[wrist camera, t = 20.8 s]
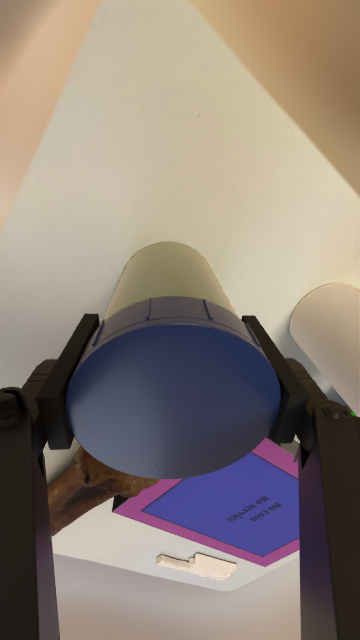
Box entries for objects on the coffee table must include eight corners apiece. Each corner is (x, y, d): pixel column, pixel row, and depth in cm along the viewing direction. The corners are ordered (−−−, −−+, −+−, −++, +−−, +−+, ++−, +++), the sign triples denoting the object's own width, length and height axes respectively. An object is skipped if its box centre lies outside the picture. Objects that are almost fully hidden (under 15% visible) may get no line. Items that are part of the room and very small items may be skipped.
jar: (104, 261, 21) (33, 359, 9) (199, 226, 20) (248, 287, 9) (143, 340, 25) (126, 479, 13) (224, 313, 24) (283, 436, 12)
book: (232, 416, 26) (379, 509, 36) (226, 395, 28) (364, 487, 39) (111, 512, 32) (265, 567, 43) (115, 487, 35) (259, 544, 46)
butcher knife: (173, 545, 44) (173, 553, 43) (237, 563, 49) (239, 571, 48) (155, 558, 45) (155, 566, 44) (219, 574, 50) (220, 582, 49)
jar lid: (92, 439, 14) (80, 482, 12) (68, 292, 10) (44, 321, 8) (245, 435, 15) (259, 476, 13) (279, 297, 11) (307, 324, 9)
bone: (-50, 590, 30) (88, 475, 19) (-13, 506, 37) (103, 386, 26) (27, 593, 34) (179, 500, 23) (48, 517, 41) (172, 417, 30)
